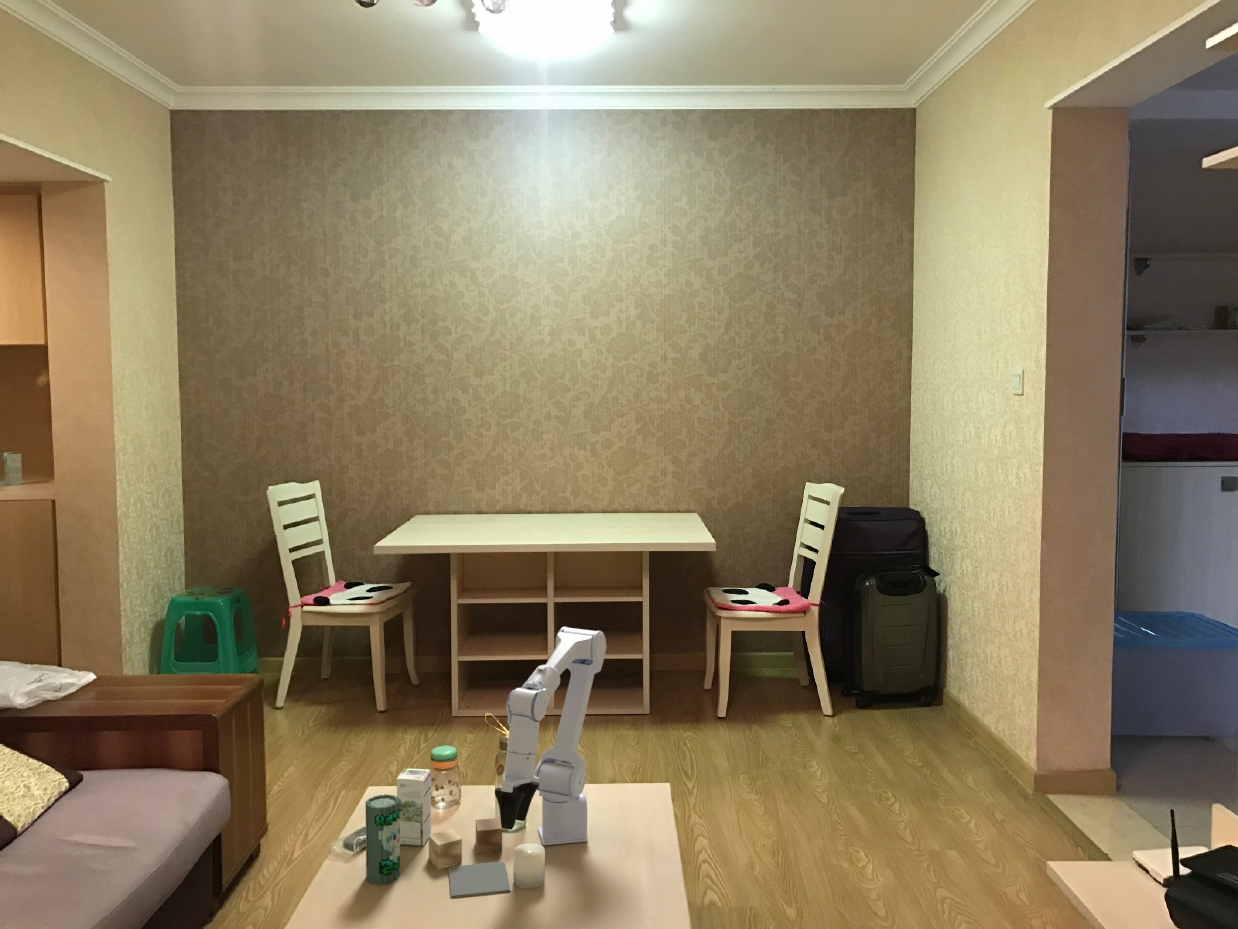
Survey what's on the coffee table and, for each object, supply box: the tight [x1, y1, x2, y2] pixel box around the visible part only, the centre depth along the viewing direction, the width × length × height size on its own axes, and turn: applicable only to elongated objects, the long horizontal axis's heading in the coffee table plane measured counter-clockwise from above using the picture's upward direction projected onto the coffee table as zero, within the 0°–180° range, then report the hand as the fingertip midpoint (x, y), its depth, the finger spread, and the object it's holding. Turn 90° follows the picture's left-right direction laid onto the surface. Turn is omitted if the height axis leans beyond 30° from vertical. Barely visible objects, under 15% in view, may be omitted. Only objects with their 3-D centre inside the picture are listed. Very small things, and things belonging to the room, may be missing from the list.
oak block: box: [428, 828, 463, 870], centre depth 191 cm, size 5×5×5 cm
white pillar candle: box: [513, 842, 546, 890], centre depth 184 cm, size 6×6×6 cm
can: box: [365, 793, 401, 886], centre depth 184 cm, size 6×6×15 cm
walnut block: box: [475, 817, 503, 855], centre depth 197 cm, size 5×5×5 cm
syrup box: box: [396, 768, 432, 847], centre depth 199 cm, size 6×6×14 cm
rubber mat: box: [448, 861, 511, 899], centre depth 184 cm, size 11×11×1 cm
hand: (513, 824), depth 184 cm, fingers open, 7 cm apart
